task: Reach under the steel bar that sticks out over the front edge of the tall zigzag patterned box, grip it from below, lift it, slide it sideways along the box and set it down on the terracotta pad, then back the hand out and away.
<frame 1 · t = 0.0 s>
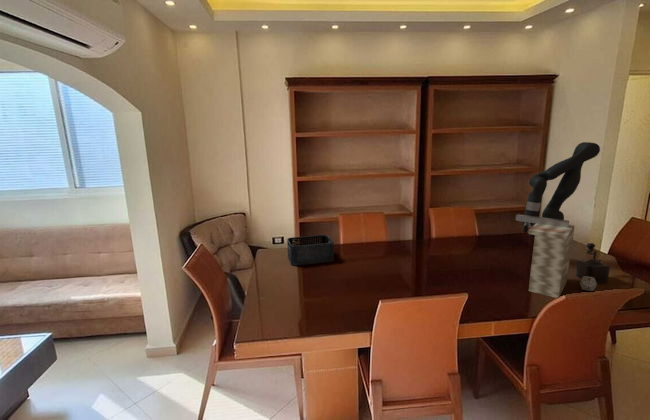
hand: (528, 234, 216), 17 cm above the table, tool pointing down, fingers open, 8 cm apart
black coffee grinder: (588, 277, 194), on the table
zigzag patterned box: (544, 285, 184), on the table
steel bar: (541, 223, 186), point 32 cm above the table, touching zigzag patterned box
storage bin: (310, 259, 232), on the table
game die: (586, 291, 178), on the table
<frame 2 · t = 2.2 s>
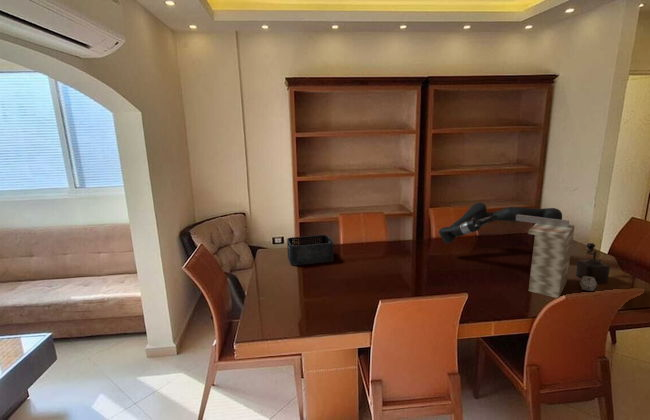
hand: (495, 217, 204), 31 cm above the table, tool pointing upward, fingers open, 8 cm apart
nothing on the table moved.
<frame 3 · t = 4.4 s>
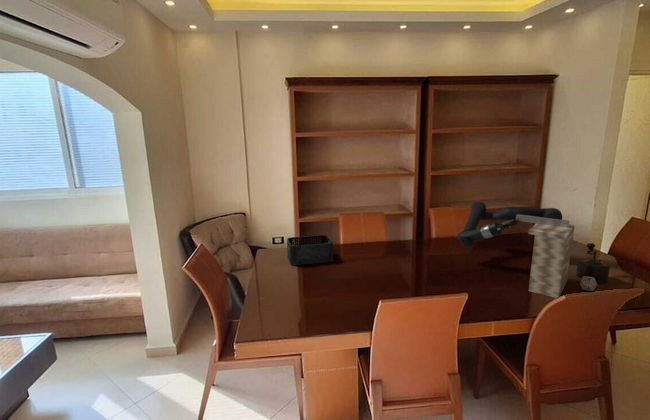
hand: (518, 220, 193), 32 cm above the table, tool pointing upward, fingers open, 8 cm apart
nothing on the table moved.
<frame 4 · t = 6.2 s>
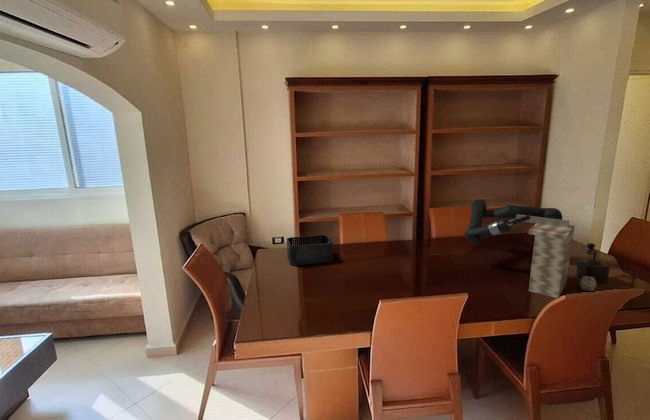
hand: (530, 216, 189), 35 cm above the table, tool pointing upward, fingers closed on steel bar, 3 cm apart
steel bar: (541, 223, 186), point 32 cm above the table, touching gripper, zigzag patterned box
everything else where it was.
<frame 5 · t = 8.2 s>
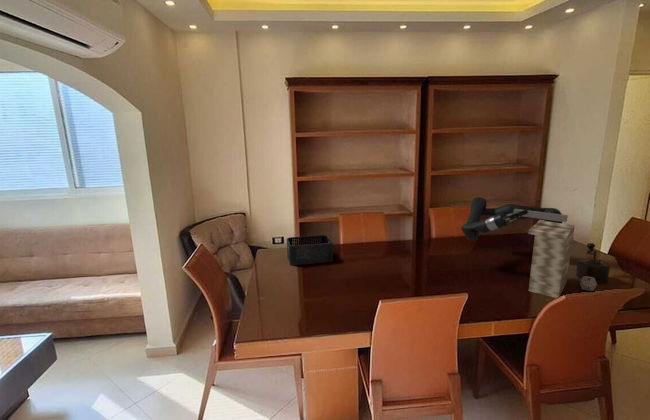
hand: (527, 210, 185), 39 cm above the table, tool pointing upward, fingers closed on steel bar, 3 cm apart
steel bar: (539, 217, 182), point 36 cm above the table, touching gripper
everything else where it was.
when the fingers open (36 cm above the table, at t = 10.2 s): steel bar stays where it is, resting on zigzag patterned box.
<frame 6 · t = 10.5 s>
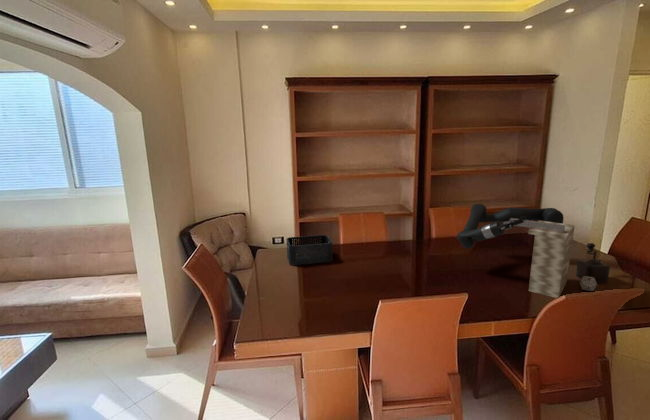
hand: (524, 219, 180), 36 cm above the table, tool pointing upward, fingers open, 5 cm apart
steel bar: (535, 227, 177), point 32 cm above the table, touching zigzag patterned box
everything else where it was.
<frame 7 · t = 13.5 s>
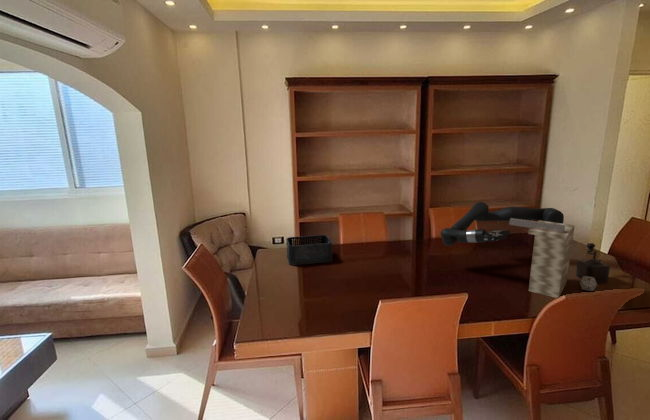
hand: (507, 234, 186), 26 cm above the table, tool horizontal, fingers open, 8 cm apart
nothing on the table moved.
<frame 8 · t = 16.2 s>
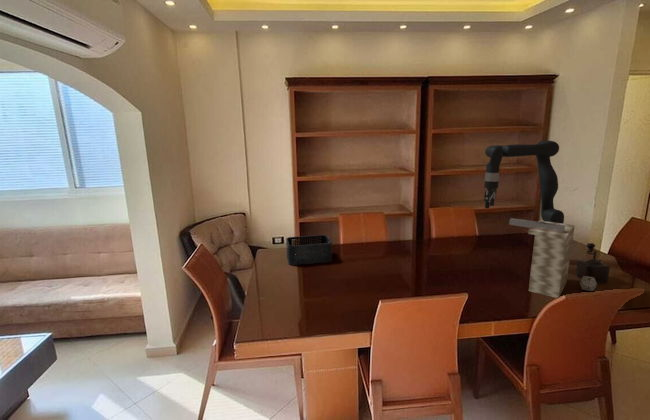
hand: (489, 206, 208), 36 cm above the table, tool pointing down, fingers open, 8 cm apart
at the end: steel bar inside the target area (0.1 cm from its centre), point 32.2 cm above the table; steel bar tilted 0°; the gripper is holding nothing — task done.
